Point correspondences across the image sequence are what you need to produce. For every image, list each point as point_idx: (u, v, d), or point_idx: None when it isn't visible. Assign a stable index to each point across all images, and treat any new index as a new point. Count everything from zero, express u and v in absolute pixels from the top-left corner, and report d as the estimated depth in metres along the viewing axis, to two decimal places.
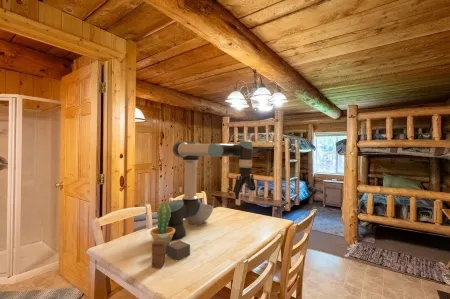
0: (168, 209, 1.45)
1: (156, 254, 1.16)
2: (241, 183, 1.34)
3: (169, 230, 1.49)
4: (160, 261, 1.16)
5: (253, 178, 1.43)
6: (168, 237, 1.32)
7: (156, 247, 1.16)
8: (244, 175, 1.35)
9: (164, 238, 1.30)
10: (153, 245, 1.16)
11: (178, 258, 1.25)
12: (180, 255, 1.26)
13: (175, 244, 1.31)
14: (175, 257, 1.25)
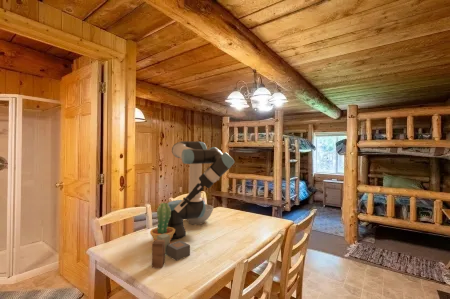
0: (168, 209, 1.45)
1: (156, 254, 1.16)
2: None
3: (169, 230, 1.49)
4: (160, 261, 1.16)
5: None
6: (168, 237, 1.32)
7: (156, 246, 1.16)
8: (203, 186, 1.16)
9: (164, 238, 1.30)
10: (153, 245, 1.16)
11: (178, 258, 1.24)
12: (180, 255, 1.26)
13: (175, 244, 1.31)
14: (175, 257, 1.25)
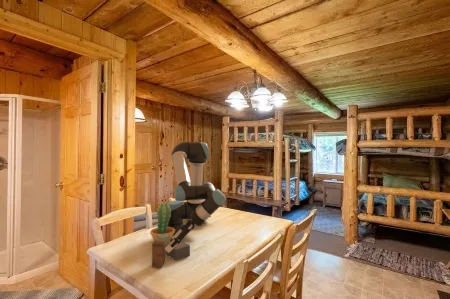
0: (168, 209, 1.45)
1: (156, 254, 1.16)
2: None
3: (169, 230, 1.49)
4: (160, 261, 1.16)
5: None
6: (168, 237, 1.32)
7: (156, 246, 1.16)
8: (194, 224, 1.15)
9: (164, 238, 1.30)
10: (153, 245, 1.16)
11: (177, 258, 1.24)
12: (180, 255, 1.26)
13: None
14: (174, 257, 1.25)
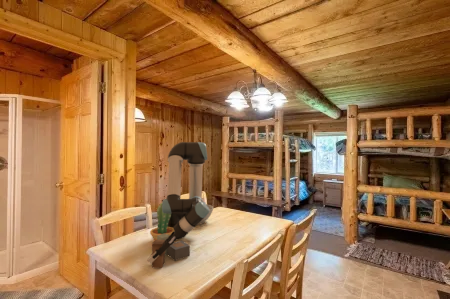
0: None
1: None
2: None
3: (169, 230, 1.49)
4: (160, 261, 1.16)
5: None
6: None
7: (156, 246, 1.16)
8: (177, 237, 1.15)
9: (164, 238, 1.30)
10: (153, 245, 1.16)
11: (176, 258, 1.24)
12: (179, 255, 1.25)
13: (176, 244, 1.31)
14: (173, 257, 1.25)
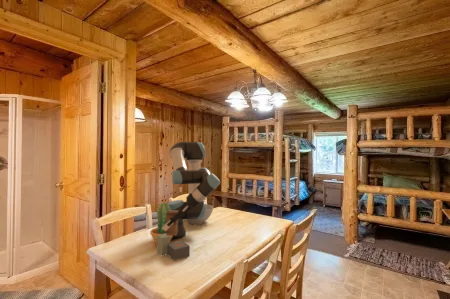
0: (168, 209, 1.45)
1: None
2: None
3: None
4: (174, 229, 1.23)
5: None
6: (168, 237, 1.32)
7: (170, 215, 1.23)
8: (190, 206, 1.22)
9: (164, 238, 1.30)
10: (167, 214, 1.23)
11: (176, 258, 1.24)
12: (178, 255, 1.25)
13: (176, 244, 1.31)
14: (173, 257, 1.25)
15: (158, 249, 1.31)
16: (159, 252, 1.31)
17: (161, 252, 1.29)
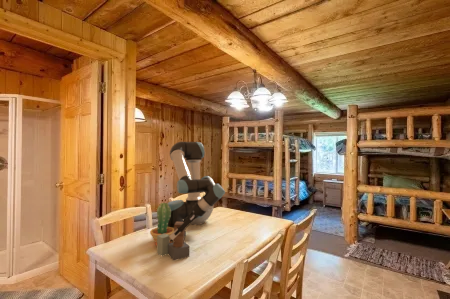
0: (168, 209, 1.45)
1: None
2: None
3: (169, 230, 1.49)
4: (181, 240, 1.28)
5: None
6: (168, 237, 1.32)
7: (178, 227, 1.27)
8: (196, 215, 1.27)
9: (164, 238, 1.30)
10: (175, 226, 1.27)
11: (175, 258, 1.24)
12: (178, 256, 1.25)
13: None
14: (172, 257, 1.25)
15: (158, 249, 1.31)
16: (159, 252, 1.31)
17: (161, 252, 1.29)
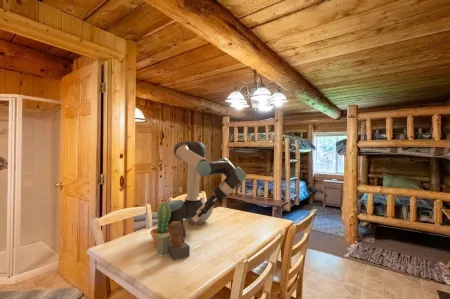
0: (168, 209, 1.45)
1: (173, 234, 1.27)
2: None
3: None
4: (178, 240, 1.27)
5: None
6: (168, 237, 1.32)
7: (172, 228, 1.26)
8: None
9: (164, 238, 1.30)
10: (169, 227, 1.27)
11: (175, 258, 1.24)
12: (178, 256, 1.25)
13: None
14: (173, 257, 1.25)
15: (158, 249, 1.31)
16: (159, 252, 1.31)
17: (161, 252, 1.29)
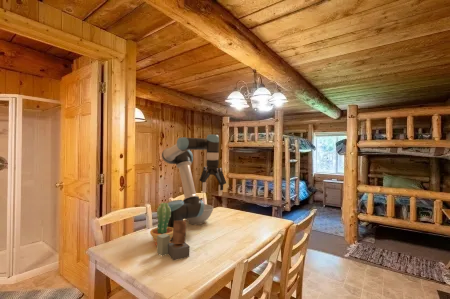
0: (168, 209, 1.45)
1: (175, 230, 1.31)
2: (218, 175, 1.42)
3: (169, 230, 1.49)
4: (177, 237, 1.28)
5: None
6: (168, 237, 1.32)
7: (176, 223, 1.31)
8: None
9: (164, 238, 1.30)
10: (174, 222, 1.33)
11: (175, 258, 1.24)
12: (178, 256, 1.25)
13: (176, 244, 1.31)
14: (172, 257, 1.25)
15: (158, 249, 1.31)
16: (159, 252, 1.31)
17: (161, 252, 1.29)
